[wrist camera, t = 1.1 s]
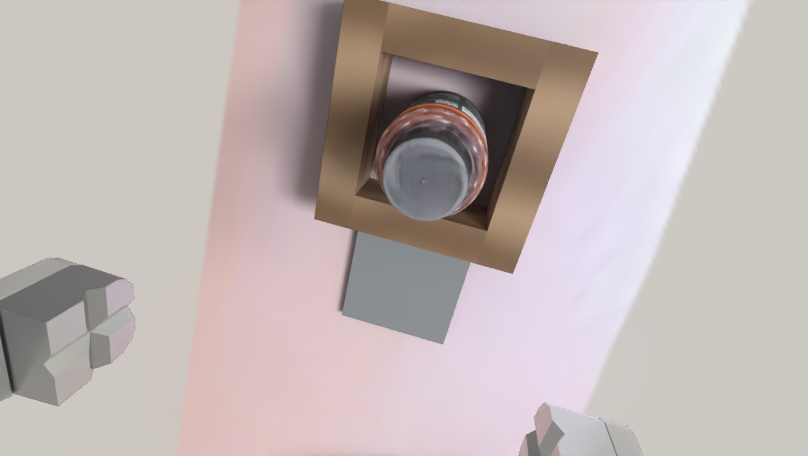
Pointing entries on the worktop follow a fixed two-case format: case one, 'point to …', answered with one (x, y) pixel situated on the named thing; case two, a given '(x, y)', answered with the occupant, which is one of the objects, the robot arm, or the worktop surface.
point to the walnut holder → (465, 51)
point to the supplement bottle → (433, 157)
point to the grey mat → (403, 287)
